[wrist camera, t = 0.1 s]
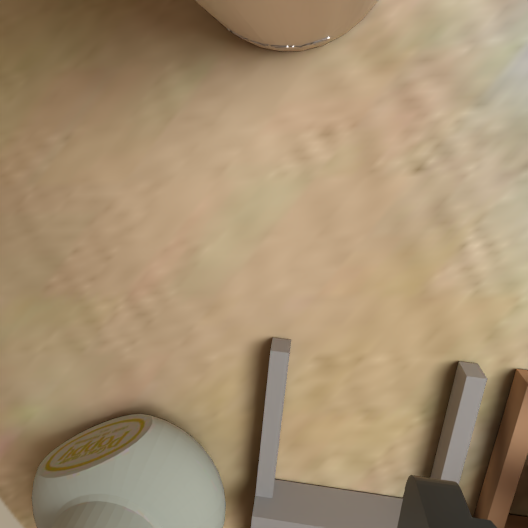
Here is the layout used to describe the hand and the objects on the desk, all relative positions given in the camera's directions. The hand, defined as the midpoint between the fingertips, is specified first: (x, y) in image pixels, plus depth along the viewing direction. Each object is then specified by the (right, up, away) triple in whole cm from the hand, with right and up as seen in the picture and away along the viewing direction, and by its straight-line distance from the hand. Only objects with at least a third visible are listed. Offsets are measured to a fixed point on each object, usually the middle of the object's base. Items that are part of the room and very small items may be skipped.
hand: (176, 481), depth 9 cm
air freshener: (-6, -9, +22) cm, 24 cm away
